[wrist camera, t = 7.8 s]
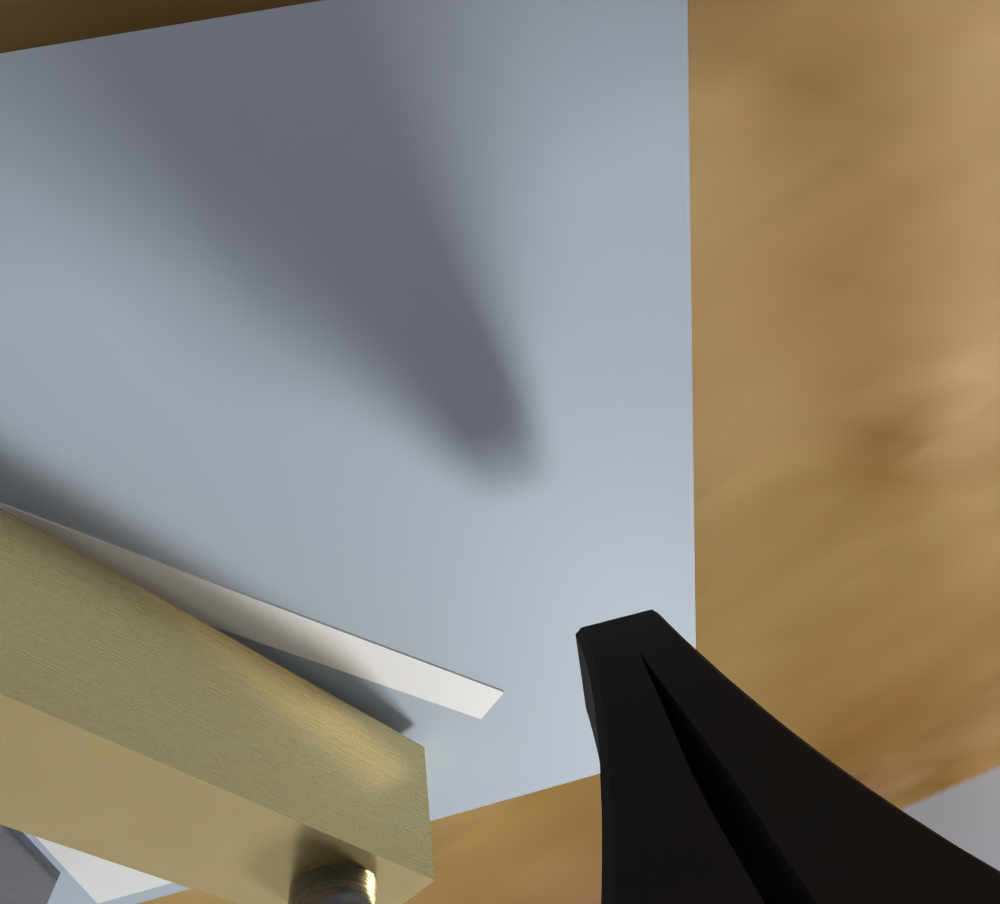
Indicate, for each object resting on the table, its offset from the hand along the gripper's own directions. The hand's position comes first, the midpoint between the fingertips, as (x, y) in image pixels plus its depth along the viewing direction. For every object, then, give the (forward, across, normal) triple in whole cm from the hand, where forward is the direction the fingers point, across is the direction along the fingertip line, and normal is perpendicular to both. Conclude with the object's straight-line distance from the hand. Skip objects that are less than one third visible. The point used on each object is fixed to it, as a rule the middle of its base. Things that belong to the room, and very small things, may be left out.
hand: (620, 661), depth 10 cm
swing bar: (+3, +8, +1) cm, 8 cm away
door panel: (+4, +7, -1) cm, 8 cm away
